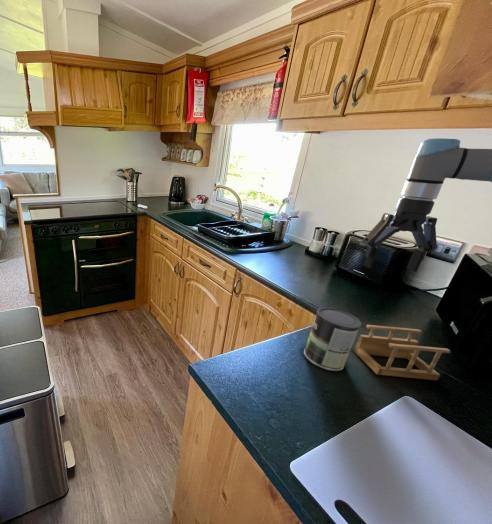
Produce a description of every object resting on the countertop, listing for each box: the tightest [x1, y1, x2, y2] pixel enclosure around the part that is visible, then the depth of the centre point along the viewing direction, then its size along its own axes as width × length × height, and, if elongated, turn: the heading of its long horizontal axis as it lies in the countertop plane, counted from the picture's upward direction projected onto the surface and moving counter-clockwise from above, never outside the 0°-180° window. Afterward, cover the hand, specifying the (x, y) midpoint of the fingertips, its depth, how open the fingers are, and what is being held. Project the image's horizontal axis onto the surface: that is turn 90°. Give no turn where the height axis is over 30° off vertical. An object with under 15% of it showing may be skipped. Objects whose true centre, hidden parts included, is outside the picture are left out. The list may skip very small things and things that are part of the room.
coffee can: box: [303, 306, 362, 372], centre depth 81 cm, size 10×10×14 cm
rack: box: [353, 324, 451, 381], centre depth 81 cm, size 10×16×10 cm, turn 86°
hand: (389, 268), depth 88 cm, fingers open, 13 cm apart
